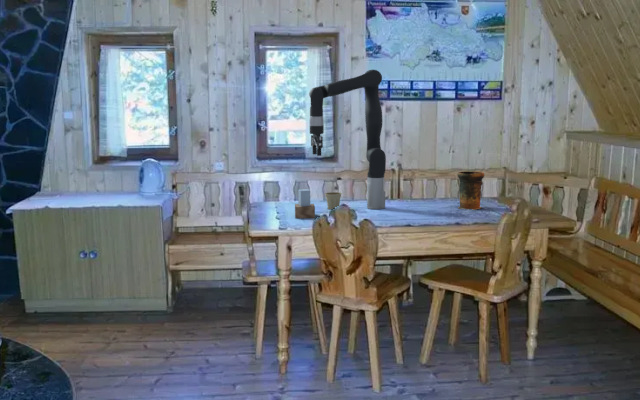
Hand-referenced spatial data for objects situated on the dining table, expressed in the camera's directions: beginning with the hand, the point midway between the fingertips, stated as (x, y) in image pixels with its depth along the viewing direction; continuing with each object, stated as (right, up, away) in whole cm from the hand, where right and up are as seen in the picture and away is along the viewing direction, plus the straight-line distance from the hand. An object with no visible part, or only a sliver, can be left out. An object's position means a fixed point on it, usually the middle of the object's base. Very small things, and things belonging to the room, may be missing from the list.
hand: (316, 155), depth 346 cm
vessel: (+85, -29, +8) cm, 90 cm away
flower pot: (+9, -29, +7) cm, 31 cm away
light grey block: (-6, -27, -16) cm, 32 cm away
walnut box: (-6, -33, -15) cm, 37 cm away
